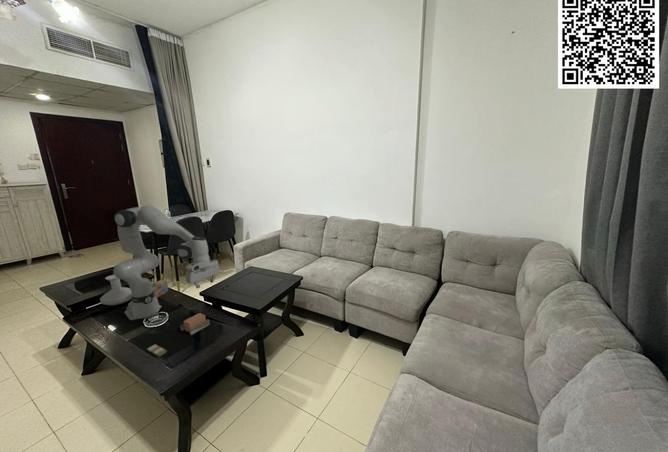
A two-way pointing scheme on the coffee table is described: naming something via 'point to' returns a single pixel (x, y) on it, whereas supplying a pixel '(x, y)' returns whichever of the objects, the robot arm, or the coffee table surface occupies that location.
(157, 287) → the stack of blocks
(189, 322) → the terracotta block
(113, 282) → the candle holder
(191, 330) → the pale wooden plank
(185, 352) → the coffee table surface
